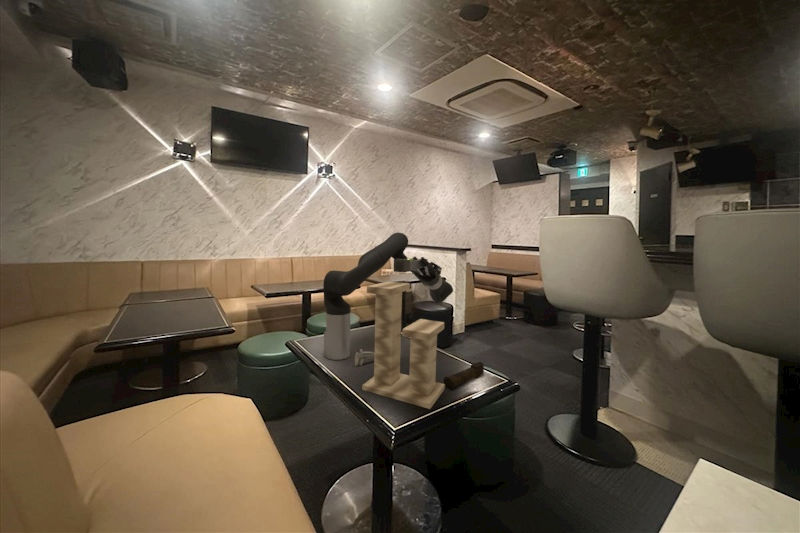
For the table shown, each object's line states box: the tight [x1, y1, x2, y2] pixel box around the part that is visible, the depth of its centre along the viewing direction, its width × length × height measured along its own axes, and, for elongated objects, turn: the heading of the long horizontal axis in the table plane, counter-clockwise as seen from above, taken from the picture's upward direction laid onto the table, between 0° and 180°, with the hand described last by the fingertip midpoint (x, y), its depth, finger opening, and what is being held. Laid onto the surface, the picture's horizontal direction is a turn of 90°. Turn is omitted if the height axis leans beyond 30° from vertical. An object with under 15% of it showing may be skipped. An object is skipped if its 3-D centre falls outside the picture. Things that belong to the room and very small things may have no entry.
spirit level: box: [393, 257, 428, 274], centre depth 109 cm, size 4×22×4 cm, turn 154°
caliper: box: [354, 348, 402, 367], centre depth 116 cm, size 20×1×6 cm, turn 127°
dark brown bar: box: [443, 361, 485, 391], centre depth 101 cm, size 19×4×5 cm, turn 128°
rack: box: [361, 280, 446, 410], centre depth 93 cm, size 22×13×32 cm, turn 64°
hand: (417, 259), depth 113 cm, fingers closed on spirit level, 2 cm apart
